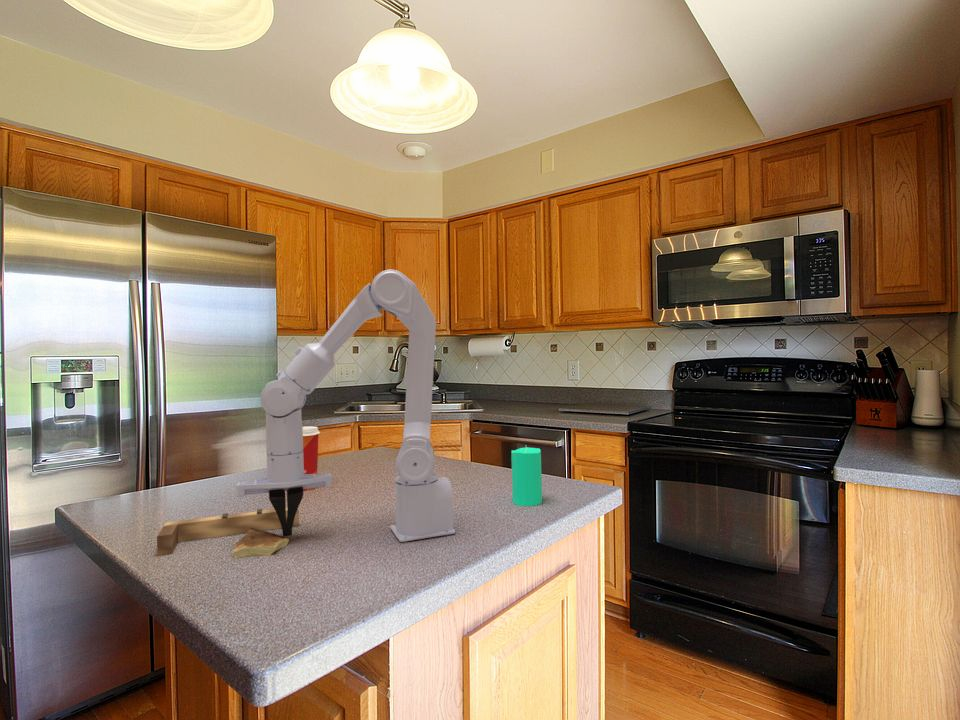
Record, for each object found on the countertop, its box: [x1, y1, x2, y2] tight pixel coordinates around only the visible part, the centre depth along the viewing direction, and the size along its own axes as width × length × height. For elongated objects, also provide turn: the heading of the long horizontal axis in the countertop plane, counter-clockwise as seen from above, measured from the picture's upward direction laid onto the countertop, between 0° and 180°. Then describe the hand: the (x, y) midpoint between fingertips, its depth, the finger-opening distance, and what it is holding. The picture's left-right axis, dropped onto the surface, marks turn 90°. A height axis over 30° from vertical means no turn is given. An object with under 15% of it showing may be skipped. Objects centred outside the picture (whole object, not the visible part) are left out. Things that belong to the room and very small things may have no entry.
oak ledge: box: [156, 507, 300, 557], centre depth 87 cm, size 21×8×3 cm, turn 112°
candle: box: [511, 446, 543, 507], centre depth 104 cm, size 6×6×12 cm
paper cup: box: [303, 425, 321, 492], centre depth 121 cm, size 8×8×14 cm
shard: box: [232, 528, 290, 559], centre depth 84 cm, size 11×8×2 cm
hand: (287, 534), depth 86 cm, fingers closed
